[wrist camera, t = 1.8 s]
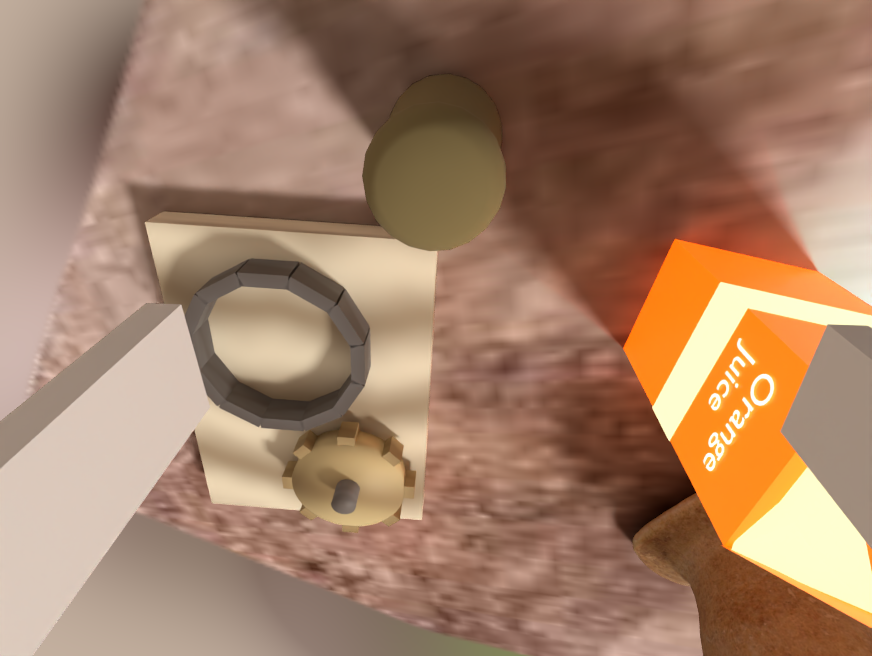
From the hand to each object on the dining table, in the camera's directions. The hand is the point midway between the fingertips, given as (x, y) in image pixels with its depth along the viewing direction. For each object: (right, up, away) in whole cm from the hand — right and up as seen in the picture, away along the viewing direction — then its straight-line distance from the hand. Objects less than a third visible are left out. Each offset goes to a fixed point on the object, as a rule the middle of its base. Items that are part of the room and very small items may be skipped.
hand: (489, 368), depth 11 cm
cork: (-1, +11, +16) cm, 19 cm away
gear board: (-10, -3, +24) cm, 26 cm away
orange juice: (+16, +2, +20) cm, 26 cm away
